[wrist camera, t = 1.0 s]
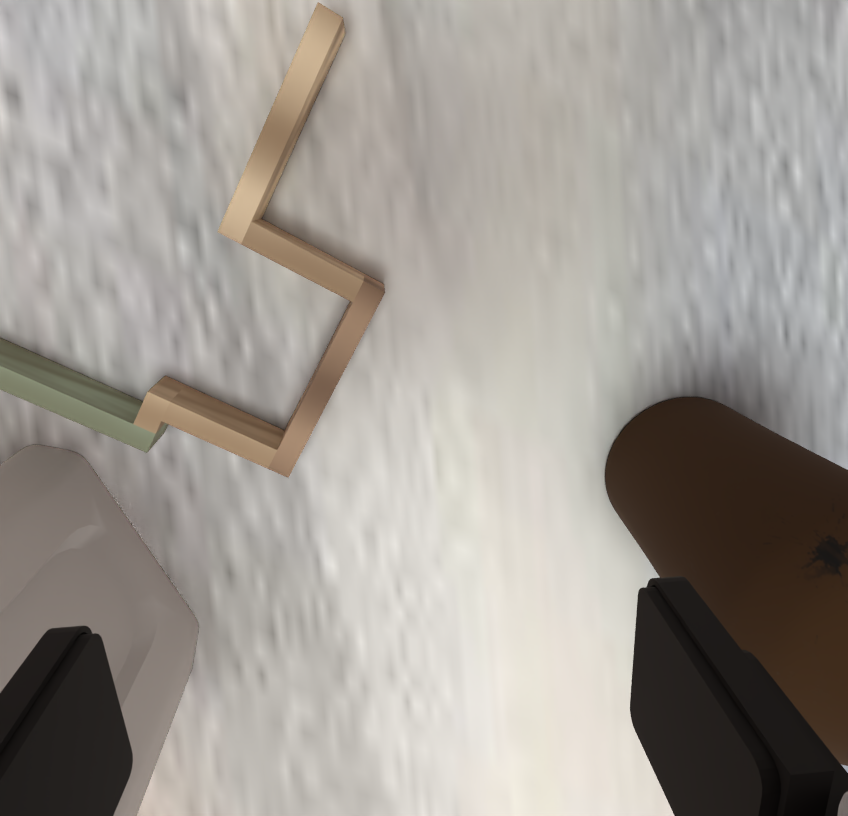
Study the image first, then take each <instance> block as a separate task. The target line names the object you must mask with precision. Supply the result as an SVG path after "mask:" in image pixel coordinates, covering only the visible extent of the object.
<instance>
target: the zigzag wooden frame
mask: <svg viewBox="0 0 848 816" xmlns="http://www.w3.org/2000/svg"><path fill="white" fill-rule="evenodd" d="M345 34H346V33H345V27H344V22H343V18H342V17H341V16H339V15H338V14H336V13H334V12H333V11H331V10H330V9H328V8H326V7H325V6H323V5H322V4H320V3H317V6H316V8H315V10H314V13H313V15H312V17H311V19H310V22H309V24H308V26H307V29H306V31H305V33H304V35H303V38H302V40H301V42H300V45H299V47H298V49H297V51H296V54H295V56H294V58H293V61H292V63H291V65H290V67H289V70H288V72H287V74H286V77H285V79H284V81H283V83H282V86H281V88H280V90H279V93H278V95H277V97H276V99H275V102H274V104H273V106H272V108H271V111H270V113H269V115H268V118H267V120H266V122H265V124H264V127H263V129H262V131H261V134H260V136H259V138H258V140H257V143H256V145H255V147H254V150H253V152H252V154H251V156H250V159H249V161H248V163H247V166H246V168H245V170H244V172H243V175H242V177H241V179H240V182H239V184H238V186H237V188H236V191H235V193H234V195H233V198H232V200H231V202H230V204H229V207H228V209H227V211H226V214H225V216H224V218H223V220H222V223H221V225H220V227H219V230H218V232H219V233H221V234H223V235H224V236H226V237H228V238H230V239H232V240H234V241H236V242H238V243H240V244H242V245H244V246H246V247H247V248H249V249H251V250H253V251H255V252H257V253H259V254H261V255H263V256H265V257H267V258H269V259H270V260H272V261H274V262H276V263H278V264H280V265H282V266H284V267H286V268H288V269H290V270H292V271H294V272H295V273H297V274H299V275H301V276H303V277H305V278H307V279H309V280H311V281H313V282H315V283H317V284H318V285H320V286H322V287H324V288H326V289H328V290H330V291H332V292H334V293H336V294H338V295H340V296H341V297H343V298H345V299H347V300H349V301H350V303H349V305H348V307H347V309H346V311H345V313H344V315H343V317H342V319H341V321H340V323H339V324H338V326H337V328H336V330H335V332H334V334H333V336H332V338H331V340H330V342H329V344H328V346H327V348H326V350H325V352H324V354H323V356H322V358H321V360H320V362H319V364H318V366H317V368H316V370H315V372H314V374H313V376H312V378H311V379H310V381H309V383H308V385H307V387H306V389H305V391H304V393H303V395H302V397H301V399H300V401H299V403H298V405H297V407H296V409H295V411H294V413H293V415H292V417H291V419H290V421H289V423H288V425H287V427H286V429H285V431H284V430H282V429H280V428H278V427H276V426H273V425H271V424H269V423H267V422H265V421H263V420H260V419H258V418H256V417H254V416H252V415H250V414H247V413H245V412H243V411H241V410H239V409H237V408H234V407H232V406H230V405H228V404H226V403H224V402H221V401H219V400H217V399H215V398H213V397H211V396H208V395H206V394H204V393H202V392H200V391H198V390H195V389H193V388H191V387H189V386H187V385H185V384H182V383H180V382H178V381H176V380H174V379H172V378H169V377H167V376H164V377H163V378H162V379H161V380H160V381H159V382H158V383H157V384H155V385H154V386H153V387H152V388H151V389H150V390H149V391H148V392H147V394H146V396H145V398H144V401H143V402H142V401H140V400H138V399H135V398H133V397H131V396H129V395H127V394H124V393H122V392H120V391H118V390H115V389H113V388H111V387H109V386H106V385H104V384H102V383H100V382H98V381H95V380H93V379H91V378H89V377H86V376H84V375H82V374H80V373H78V372H75V371H73V370H71V369H69V368H66V367H64V366H62V365H60V364H57V363H55V362H53V361H51V360H49V359H46V358H44V357H42V356H40V355H37V354H35V353H33V352H31V351H28V350H26V349H24V348H22V347H20V346H17V345H15V344H13V343H11V342H8V341H6V340H4V339H2V338H0V390H3V391H5V392H7V393H10V394H12V395H14V396H17V397H19V398H21V399H24V400H26V401H28V402H30V403H33V404H35V405H37V406H40V407H42V408H44V409H47V410H49V411H51V412H54V413H56V414H58V415H61V416H63V417H65V418H68V419H70V420H72V421H75V422H77V423H79V424H81V425H84V426H86V427H88V428H91V429H93V430H95V431H98V432H100V433H102V434H105V435H107V436H109V437H112V438H114V439H116V440H119V441H121V442H123V443H125V444H128V445H130V446H132V447H135V448H137V449H139V450H142V451H144V452H146V453H147V452H148V451H149V450H150V449H151V448H152V446H153V445H154V444H155V443H156V442H157V441H158V439H159V438H160V437H161V436H162V435H163V434H164V432H165V430H166V428H167V426H168V424H169V425H171V426H173V427H176V428H178V429H180V430H182V431H185V432H187V433H189V434H191V435H194V436H196V437H198V438H200V439H202V440H205V441H207V442H209V443H211V444H214V445H216V446H218V447H220V448H223V449H225V450H227V451H229V452H232V453H234V454H236V455H238V456H241V457H243V458H245V459H247V460H250V461H252V462H254V463H256V464H259V465H261V466H263V467H265V468H268V469H270V470H272V471H274V472H277V473H279V474H281V475H283V476H286V477H289V475H290V473H291V472H292V470H293V468H294V466H295V464H296V462H297V460H298V458H299V456H300V454H301V452H302V450H303V449H304V447H305V445H306V443H307V441H308V439H309V437H310V435H311V433H312V431H313V429H314V427H315V426H316V424H317V422H318V420H319V418H320V416H321V414H322V412H323V410H324V408H325V406H326V404H327V403H328V401H329V399H330V397H331V395H332V393H333V391H334V389H335V387H336V385H337V383H338V382H339V380H340V378H341V376H342V374H343V372H344V370H345V368H346V366H347V364H348V362H349V360H350V359H351V357H352V355H353V353H354V351H355V349H356V347H357V345H358V343H359V341H360V339H361V337H362V336H363V334H364V332H365V330H366V328H367V326H368V324H369V322H370V320H371V318H372V316H373V314H374V313H375V311H376V309H377V307H378V305H379V303H380V301H381V299H382V297H383V295H384V293H385V288H384V284H383V283H381V282H379V281H377V280H375V279H373V278H371V277H370V276H368V275H366V274H364V273H362V272H360V271H358V270H356V269H355V268H353V267H351V266H349V265H347V264H345V263H343V262H341V261H340V260H338V259H336V258H334V257H332V256H330V255H328V254H326V253H325V252H323V251H321V250H319V249H317V248H315V247H313V246H312V245H310V244H308V243H306V242H304V241H302V240H300V239H298V238H297V237H295V236H293V235H291V234H289V233H287V232H285V231H283V230H282V229H280V228H278V227H276V226H274V225H272V224H270V223H268V222H267V221H265V220H263V219H262V216H263V214H264V212H265V210H266V208H267V205H268V203H269V201H270V199H271V197H272V194H273V192H274V190H275V188H276V186H277V183H278V181H279V179H280V177H281V175H282V172H283V170H284V168H285V166H286V164H287V161H288V159H289V157H290V155H291V153H292V150H293V148H294V146H295V144H296V142H297V139H298V137H299V135H300V133H301V131H302V128H303V126H304V124H305V122H306V120H307V117H308V115H309V113H310V111H311V109H312V106H313V104H314V102H315V100H316V98H317V95H318V93H319V91H320V89H321V87H322V84H323V82H324V80H325V78H326V76H327V73H328V71H329V69H330V67H331V64H332V62H333V60H334V58H335V56H336V53H337V51H338V49H339V47H340V45H341V42H342V40H343V38H344V36H345Z"/></svg>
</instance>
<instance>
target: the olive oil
mask: <svg viewBox="0 0 848 816" xmlns="http://www.w3.org/2000/svg"><path fill="white" fill-rule="evenodd" d="M605 482H606V489H607V493H608V496H609V499H610V502H611V504H612V506H613V507H614V509H615V511H616V512H617V514H618V515H619V517H620V518H621V520H622V521H623V523H624V524H625V526H626V527H627V529H628V530H629V531H630V533H631V534H632V536H633V537H634V539H635V540H636V542H637V543H638V544H639V546H640V547H641V549H642V550H643V552H644V553H645V555H646V556H647V558H648V559H649V561H650V563H651V564H652V566H653V567H654V569H655V570H656V572H657V573H658V575H659V576H660V578H664V577H676V576H683V577H685V578H686V579H687V580H688V581H689V582H690V584H691V585H692V586H693V588H694V589H695V590H696V591H697V593H698V594H699V595H700V597H701V598H702V599H703V600H704V602H705V603H706V604H707V606H708V607H709V608H710V610H711V611H712V612H713V613H714V615H715V616H716V617H717V619H718V620H719V621H720V623H721V624H722V625H723V626H724V628H725V629H726V630H727V632H728V633H729V634H730V635H731V637H732V638H733V639H734V641H735V642H736V643H737V645H738V646H739V647H740V648H741V650H747V651H749V652H751V653H752V654H753V655H754V656H755V657H756V658H757V659H758V660H759V662H760V663H761V664H762V665H763V667H764V668H765V669H766V670H767V672H768V673H769V674H770V676H771V677H772V678H773V679H774V681H775V682H776V683H777V684H778V686H779V687H780V688H781V689H782V691H783V692H784V693H785V695H786V696H787V697H788V698H789V700H790V701H791V702H792V703H793V705H794V706H795V707H796V708H797V710H798V711H799V712H800V714H801V715H802V716H803V717H804V719H805V720H806V721H807V722H808V724H809V725H810V726H811V727H812V729H813V730H814V731H815V733H816V734H817V735H818V736H819V738H820V739H821V740H822V741H823V743H824V744H825V745H826V746H827V748H828V749H829V750H830V752H831V753H832V754H833V755H834V757H835V758H836V759H837V760H838V762H839V763H840V764H842V765H846V766H848V470H846V469H844V468H842V467H840V466H839V465H837V464H835V463H833V462H831V461H829V460H827V459H825V458H823V457H821V456H819V455H817V454H815V453H813V452H811V451H809V450H807V449H805V448H803V447H801V446H799V445H798V444H796V443H794V442H792V441H790V440H788V439H786V438H784V437H782V436H780V435H778V434H776V433H774V432H772V431H771V430H769V429H767V428H765V427H763V426H761V425H760V424H758V423H756V422H754V421H752V420H751V419H749V418H747V417H745V416H743V415H741V414H740V413H738V412H736V411H734V410H732V409H731V408H729V407H727V406H725V405H723V404H721V403H718V402H716V401H713V400H709V399H705V398H699V397H682V398H675V399H671V400H667V401H664V402H661V403H659V404H656V405H654V406H652V407H650V408H648V409H647V410H645V411H644V412H642V413H641V414H639V415H638V416H637V417H635V418H634V419H633V420H632V421H631V422H630V423H629V424H628V425H627V426H626V427H625V428H624V429H623V431H622V432H621V433H620V435H619V436H618V438H617V439H616V441H615V443H614V445H613V447H612V449H611V451H610V454H609V457H608V460H607V465H606V472H605Z"/></svg>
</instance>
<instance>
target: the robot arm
mask: <svg viewBox="0 0 848 816" xmlns="http://www.w3.org/2000/svg"><path fill="white" fill-rule="evenodd" d="M630 712H631V718H632V723H633V726H634V729H635V731H636V733H637V735H638V738H639V740H640V742H641V744H642V746H643V748H644V751H645V753H646V755H647V757H648V759H649V761H650V763H651V766H652V768H653V770H654V772H655V774H656V776H657V779H658V781H659V783H660V785H661V787H662V789H663V791H664V794H665V796H666V798H667V800H668V802H669V804H670V807H671V809H672V811H673V813H674V815H675V816H848V773H847V772H846V771H845V769H844V768H843V767H842V765H841V764H840V763H839V762H838V760H837V759H836V758H835V757H834V755H833V754H832V753H831V752H830V750H829V749H828V748H827V746H826V745H825V744H824V743H823V741H822V740H821V739H820V738H819V736H818V735H817V734H816V733H815V731H814V730H813V729H812V727H811V726H810V725H809V724H808V722H807V721H806V720H805V719H804V717H803V716H802V715H801V714H800V712H799V711H798V710H797V708H796V707H795V706H794V705H793V703H792V702H791V701H790V700H789V698H788V697H787V696H786V695H785V693H784V692H783V691H782V689H781V688H780V687H779V686H778V684H777V683H776V682H775V681H774V679H773V678H772V677H771V676H770V674H769V673H768V672H767V670H766V669H765V668H764V667H763V665H762V664H761V663H760V662H759V660H758V659H757V658H756V657H755V656H754V655H753V654H752V653H751V652H749V651H747V650H741V648H740V647H739V646H738V645H737V643H736V642H735V641H734V639H733V638H732V637H731V635H730V634H729V633H728V632H727V630H726V629H725V628H724V626H723V625H722V624H721V623H720V621H719V620H718V619H717V617H716V616H715V615H714V613H713V612H712V611H711V610H710V608H709V607H708V606H707V604H706V603H705V602H704V600H703V599H702V598H701V597H700V595H699V594H698V593H697V591H696V590H695V589H694V588H693V586H692V585H691V584H690V582H689V581H688V580H687V579H686V578H685V577H683V576H676V577H664V578H652V579H650V580H649V582H648V585H647V587H646V588H641V589H640V590H639V593H638V603H637V617H636V631H635V644H634V658H633V672H632V686H631V700H630ZM132 765H133V753H132V748H131V744H130V741H129V737H128V733H127V729H126V726H125V722H124V718H123V715H122V711H121V707H120V703H119V700H118V696H117V692H116V688H115V685H114V681H113V677H112V673H111V670H110V666H109V662H108V658H107V655H106V651H105V647H104V643H103V640H102V637H101V636H100V635H99V634H97V633H94V634H92V631H91V629H90V628H89V627H88V626H72V627H60V628H51V629H49V630H47V631H46V632H45V633H44V635H43V636H42V637H41V639H40V640H39V641H38V643H37V644H36V645H35V647H34V648H33V649H32V651H31V652H30V653H29V655H28V656H27V658H26V659H25V660H24V662H23V663H22V664H21V666H20V667H19V668H18V670H17V671H16V672H15V674H14V675H13V676H12V678H11V679H10V680H9V682H8V683H7V684H6V686H5V687H4V688H3V690H2V691H1V693H0V816H113V815H114V813H115V811H116V808H117V806H118V804H119V801H120V799H121V796H122V794H123V792H124V789H125V787H126V785H127V782H128V780H129V777H130V774H131V771H132Z"/></svg>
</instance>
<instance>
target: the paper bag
mask: <svg viewBox="0 0 848 816" xmlns="http://www.w3.org/2000/svg"><path fill="white" fill-rule="evenodd" d="M72 626H88V627H89V628H90V629H91V631H92V634H94V633H97V634H99V635H100V636H101V637H102V640H103V643H104V647H105V651H106V655H107V658H108V662H109V666H110V670H111V673H112V677H113V681H114V685H115V688H116V692H117V696H118V700H119V703H120V707H121V711H122V715H123V718H124V722H125V726H126V729H127V733H128V737H129V741H130V744H131V748H132V753H133V765H132V771H131V774H130V777H129V780H128V782H127V785H126V787H125V789H124V792H123V794H122V796H121V799H120V801H119V804H118V806H117V808H116V811H115V813H114V815H113V816H137V813H138V811H139V808H140V805H141V803H142V800H143V797H144V795H145V792H146V789H147V787H148V784H149V781H150V779H151V776H152V774H153V771H154V768H155V766H156V763H157V760H158V758H159V755H160V752H161V750H162V747H163V744H164V742H165V739H166V736H167V734H168V731H169V729H170V726H171V723H172V721H173V718H174V715H175V713H176V710H177V707H178V705H179V702H180V699H181V697H182V694H183V691H184V689H185V686H186V684H187V681H188V678H189V676H190V673H191V670H192V666H193V660H194V655H195V649H196V643H197V637H198V630H199V626H198V622H197V619H196V617H195V616H194V614H193V613H192V611H191V610H190V608H189V607H188V605H187V604H186V603H185V601H184V600H183V598H182V597H181V595H180V594H179V592H178V591H177V590H176V588H175V587H174V585H173V584H172V582H171V581H170V580H169V578H168V577H167V575H166V574H165V572H164V571H163V569H162V568H161V567H160V565H159V564H158V562H157V561H156V559H155V558H154V556H153V555H152V554H151V552H150V551H149V549H148V548H147V546H146V545H145V543H144V542H143V541H142V539H141V538H140V536H139V535H138V533H137V532H136V530H135V529H134V528H133V526H132V525H131V523H130V522H129V520H128V519H127V517H126V516H125V515H124V513H123V512H122V510H121V509H120V507H119V506H118V504H117V503H116V502H115V500H114V499H113V497H112V496H111V494H110V493H109V492H108V490H107V489H106V487H105V486H104V484H103V483H102V481H101V480H100V479H99V477H98V476H97V474H96V473H95V471H94V470H93V468H92V467H91V466H90V464H89V463H88V462H87V461H86V459H85V458H84V457H82V456H81V455H79V454H78V453H76V452H73V451H70V450H65V449H60V448H54V447H49V446H44V445H31V446H27V447H25V448H23V449H22V450H20V451H19V452H17V453H16V454H15V455H13V456H12V457H10V458H9V459H8V460H6V461H5V462H4V463H2V464H1V465H0V693H1V691H2V690H3V688H4V687H5V686H6V684H7V683H8V682H9V680H10V679H11V678H12V676H13V675H14V674H15V672H16V671H17V670H18V668H19V667H20V666H21V664H22V663H23V662H24V660H25V659H26V658H27V656H28V655H29V653H30V652H31V651H32V649H33V648H34V647H35V645H36V644H37V643H38V641H39V640H40V639H41V637H42V636H43V635H44V633H45V632H46V631H47V630H49V629H51V628H60V627H72Z"/></svg>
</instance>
